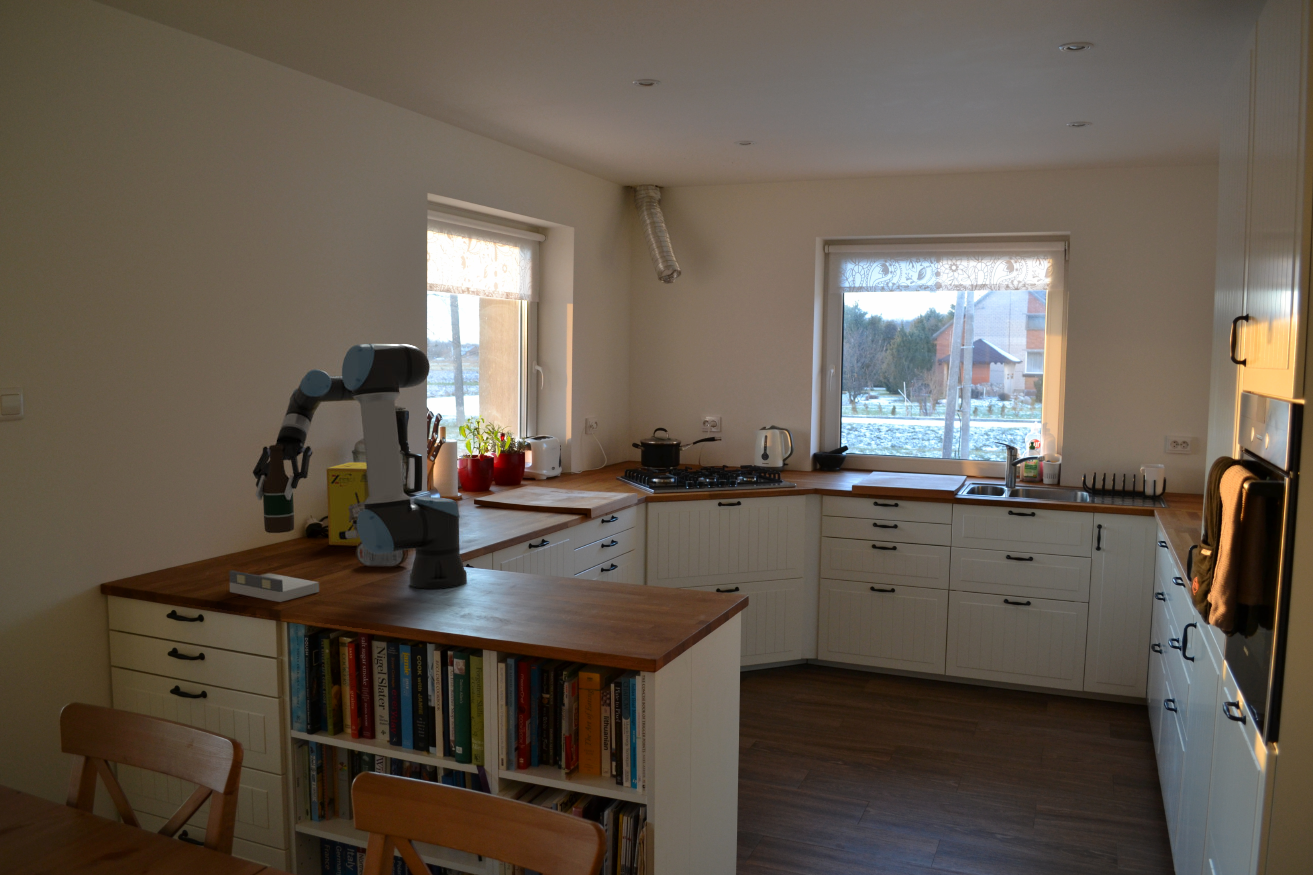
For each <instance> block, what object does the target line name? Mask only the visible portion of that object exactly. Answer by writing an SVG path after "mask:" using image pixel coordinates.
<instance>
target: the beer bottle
mask: <svg viewBox="0 0 1313 875" xmlns="http://www.w3.org/2000/svg"><path fill="white" fill-rule="evenodd" d="M268 448H269V450H270V458H269V460H270V470H269V475H268V477H267V478H266V480H265V482H264V485H263V497H262V500H263V501H262V503H263V505H262V506H263V524H264V531H265V532H266V533H268V534H282V533H290V532H292V531H294V529H295V512H294V510H295V509H294V508H295V507H294V491H293V492H292V495H291V498H290V500H287V498H286V496H285V494H284V493H285V490H286V487H287V484H288V480H289V477H288V475H287V473H286V470H285V469H286V468H285V462H284V461H285V460H284V461H283V452H282V450H283V446H282V445H275V444H271V445H269V446H268Z"/></svg>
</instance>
